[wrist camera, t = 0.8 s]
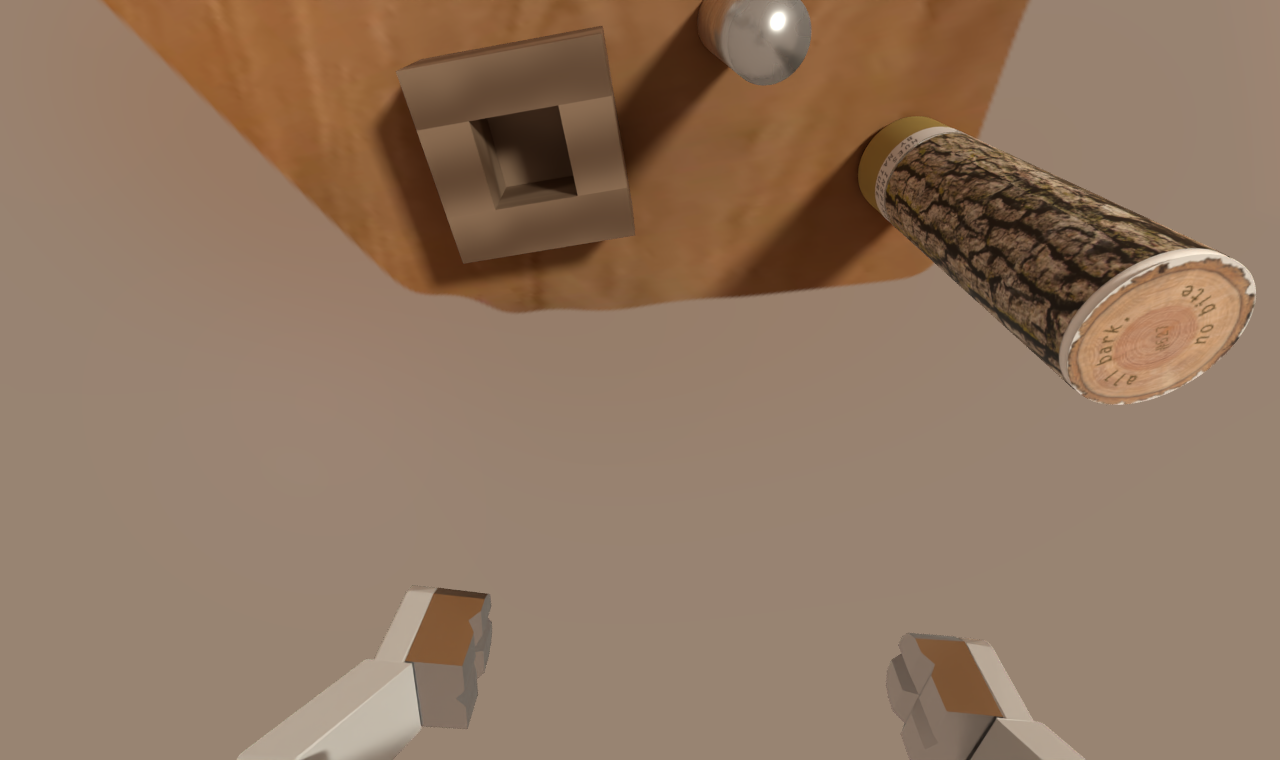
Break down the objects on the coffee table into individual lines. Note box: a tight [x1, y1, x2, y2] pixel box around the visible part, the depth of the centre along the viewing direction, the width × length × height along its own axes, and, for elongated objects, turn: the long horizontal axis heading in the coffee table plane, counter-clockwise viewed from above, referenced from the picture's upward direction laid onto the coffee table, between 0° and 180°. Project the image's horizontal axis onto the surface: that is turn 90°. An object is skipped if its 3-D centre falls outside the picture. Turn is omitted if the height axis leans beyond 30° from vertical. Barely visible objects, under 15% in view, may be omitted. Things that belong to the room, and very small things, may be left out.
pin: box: [697, 0, 811, 85], centre depth 33 cm, size 4×4×12 cm
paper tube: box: [858, 116, 1256, 405], centre depth 33 cm, size 7×7×25 cm
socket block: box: [396, 26, 635, 264], centre depth 40 cm, size 12×12×6 cm
